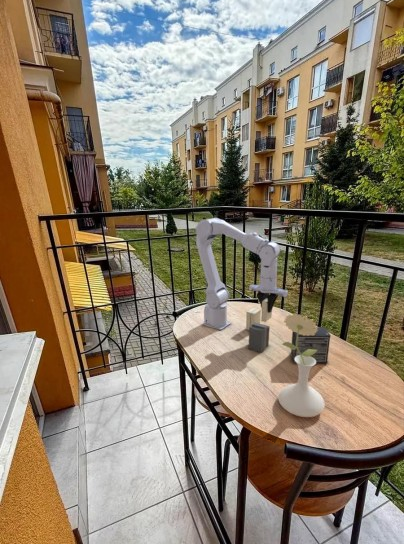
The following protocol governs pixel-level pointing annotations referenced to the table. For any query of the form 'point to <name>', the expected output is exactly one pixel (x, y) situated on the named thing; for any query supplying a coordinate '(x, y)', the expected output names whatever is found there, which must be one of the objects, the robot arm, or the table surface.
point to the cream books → (252, 317)
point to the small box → (313, 345)
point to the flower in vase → (301, 374)
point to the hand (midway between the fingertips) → (266, 311)
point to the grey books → (258, 337)
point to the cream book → (265, 311)
